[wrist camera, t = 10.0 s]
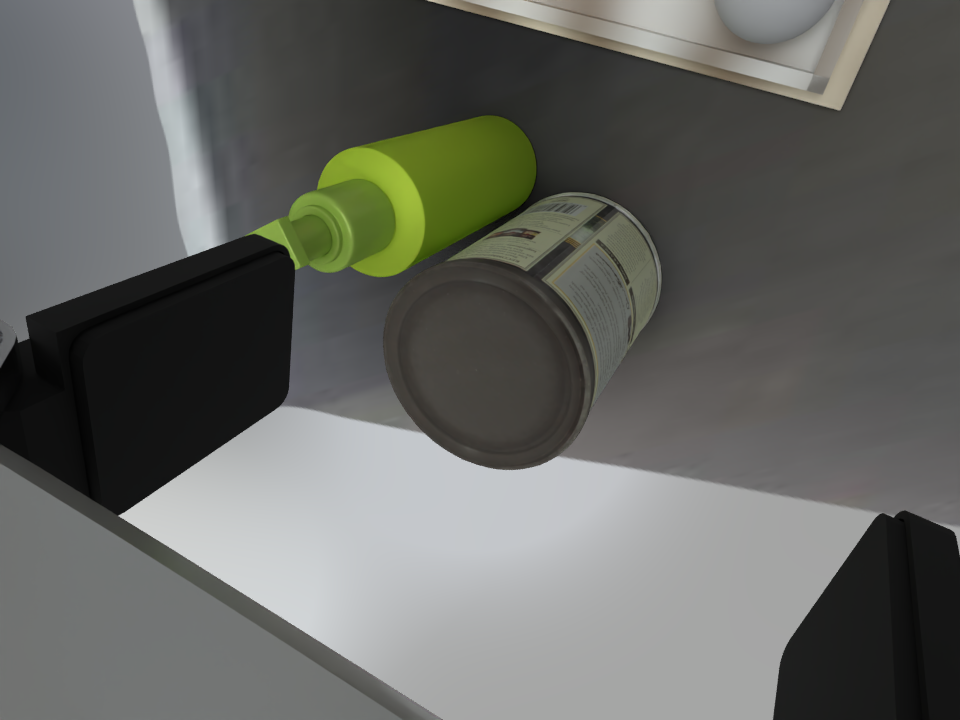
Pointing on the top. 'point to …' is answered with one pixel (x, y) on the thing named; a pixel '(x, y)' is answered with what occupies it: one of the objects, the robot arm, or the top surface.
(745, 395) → the top surface
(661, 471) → the top surface
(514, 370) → the coffee can
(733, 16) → the grey ball
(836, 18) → the trough board
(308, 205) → the soap dispenser
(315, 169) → the top surface
